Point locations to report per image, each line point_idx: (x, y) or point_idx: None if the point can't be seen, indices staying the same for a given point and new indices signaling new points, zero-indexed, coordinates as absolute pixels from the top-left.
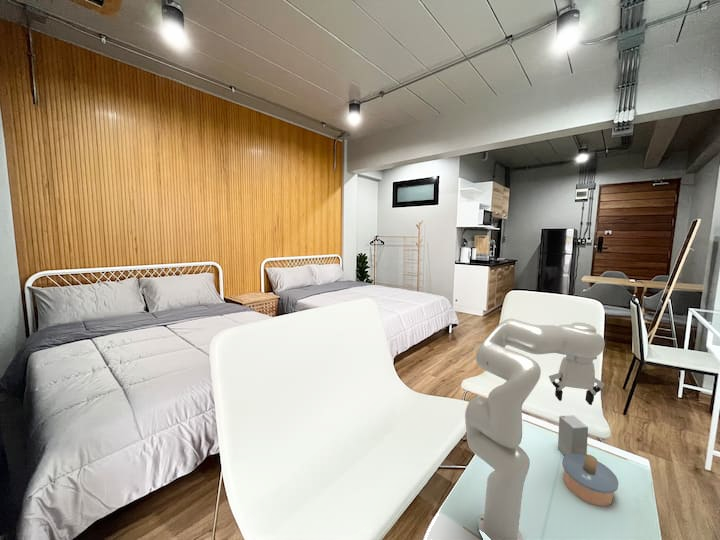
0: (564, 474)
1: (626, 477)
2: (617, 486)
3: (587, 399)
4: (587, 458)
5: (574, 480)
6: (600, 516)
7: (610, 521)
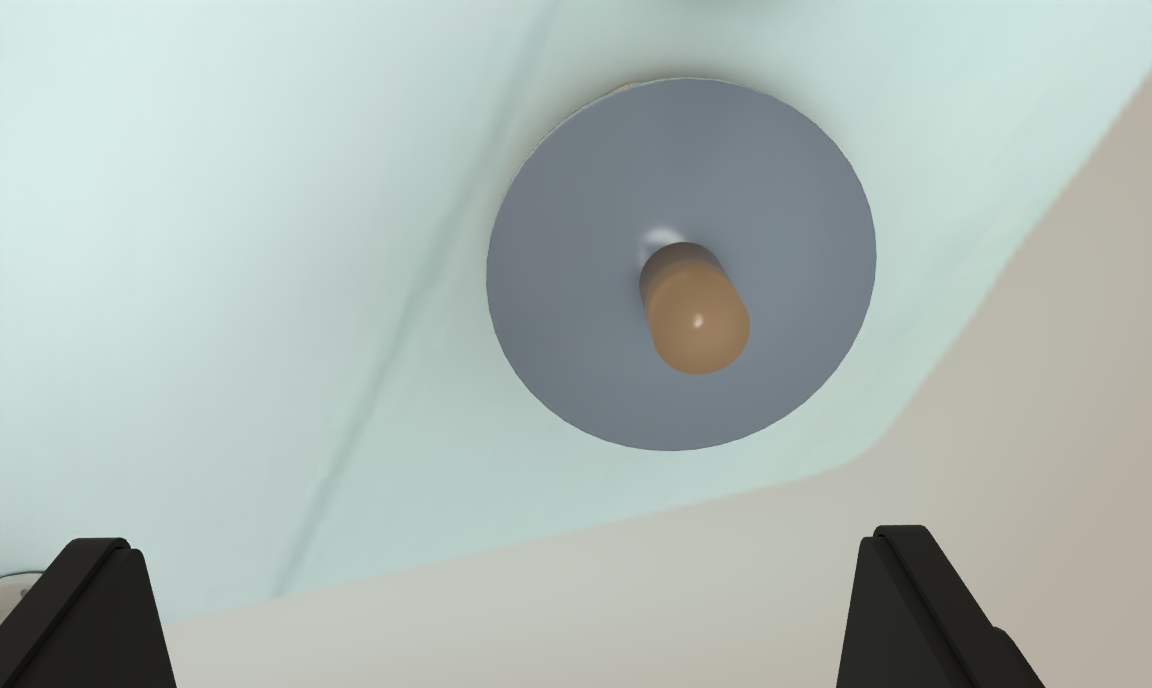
0: None
1: (1050, 35)
2: (812, 393)
3: (875, 671)
4: (663, 343)
5: None
6: None
7: None
